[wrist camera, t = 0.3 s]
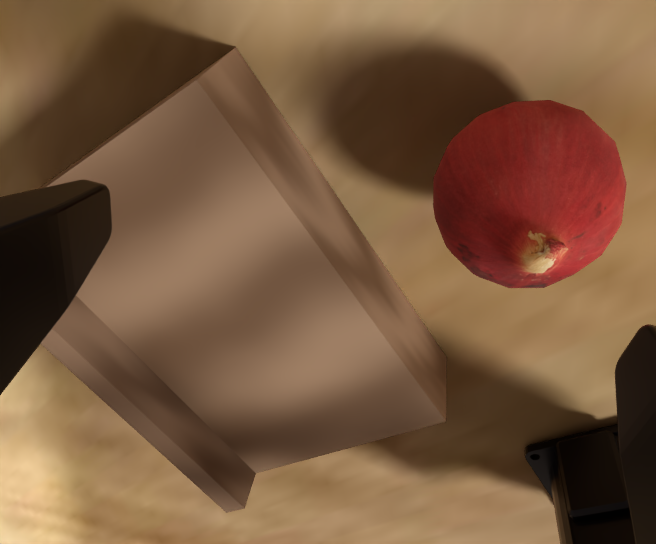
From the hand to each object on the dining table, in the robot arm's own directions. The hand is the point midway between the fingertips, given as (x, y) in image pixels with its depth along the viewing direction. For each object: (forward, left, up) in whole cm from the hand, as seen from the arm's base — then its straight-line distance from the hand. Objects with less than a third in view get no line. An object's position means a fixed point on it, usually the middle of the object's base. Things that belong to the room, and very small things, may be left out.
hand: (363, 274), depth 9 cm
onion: (-5, -2, -13) cm, 14 cm away
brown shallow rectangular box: (-5, +11, -13) cm, 18 cm away
